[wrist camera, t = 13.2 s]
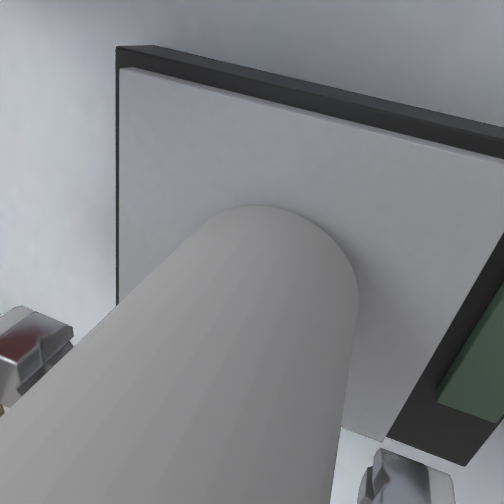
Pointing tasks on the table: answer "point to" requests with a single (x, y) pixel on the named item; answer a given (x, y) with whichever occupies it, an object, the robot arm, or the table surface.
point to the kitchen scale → (336, 223)
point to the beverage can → (200, 379)
